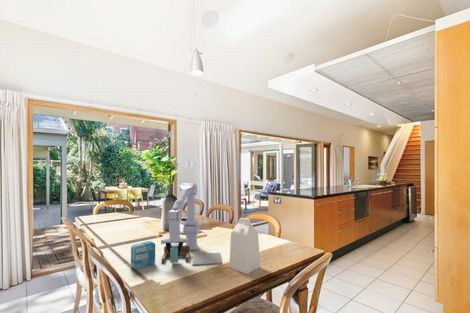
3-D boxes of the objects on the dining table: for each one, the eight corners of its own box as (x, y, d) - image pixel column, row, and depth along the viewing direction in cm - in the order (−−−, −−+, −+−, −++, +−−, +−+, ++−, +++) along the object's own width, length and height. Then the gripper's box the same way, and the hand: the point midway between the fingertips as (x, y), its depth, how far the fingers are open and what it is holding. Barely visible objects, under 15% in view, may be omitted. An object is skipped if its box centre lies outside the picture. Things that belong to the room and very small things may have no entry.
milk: (260, 267, 133) (259, 218, 134) (246, 274, 124) (246, 222, 125) (243, 261, 141) (242, 215, 142) (229, 267, 132) (229, 218, 133)
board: (193, 255, 151) (193, 253, 151) (219, 253, 153) (219, 252, 153) (192, 265, 135) (192, 264, 135) (221, 264, 137) (221, 262, 137)
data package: (133, 270, 130) (134, 247, 130) (130, 267, 133) (130, 245, 134) (155, 263, 138) (155, 242, 139) (151, 261, 141) (151, 240, 142)
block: (171, 258, 140) (171, 244, 140) (178, 258, 140) (178, 244, 141) (170, 263, 134) (170, 248, 134) (177, 262, 134) (177, 247, 135)
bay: (164, 256, 149) (164, 246, 149) (189, 255, 151) (189, 245, 151) (161, 263, 139) (161, 252, 139) (188, 261, 141) (188, 251, 141)
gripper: (160, 234, 133) (159, 259, 132) (187, 233, 134) (187, 258, 134) (162, 230, 140) (162, 255, 139) (188, 229, 141) (188, 253, 141)
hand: (174, 256), depth 137 cm, fingers closed on block, 4 cm apart
